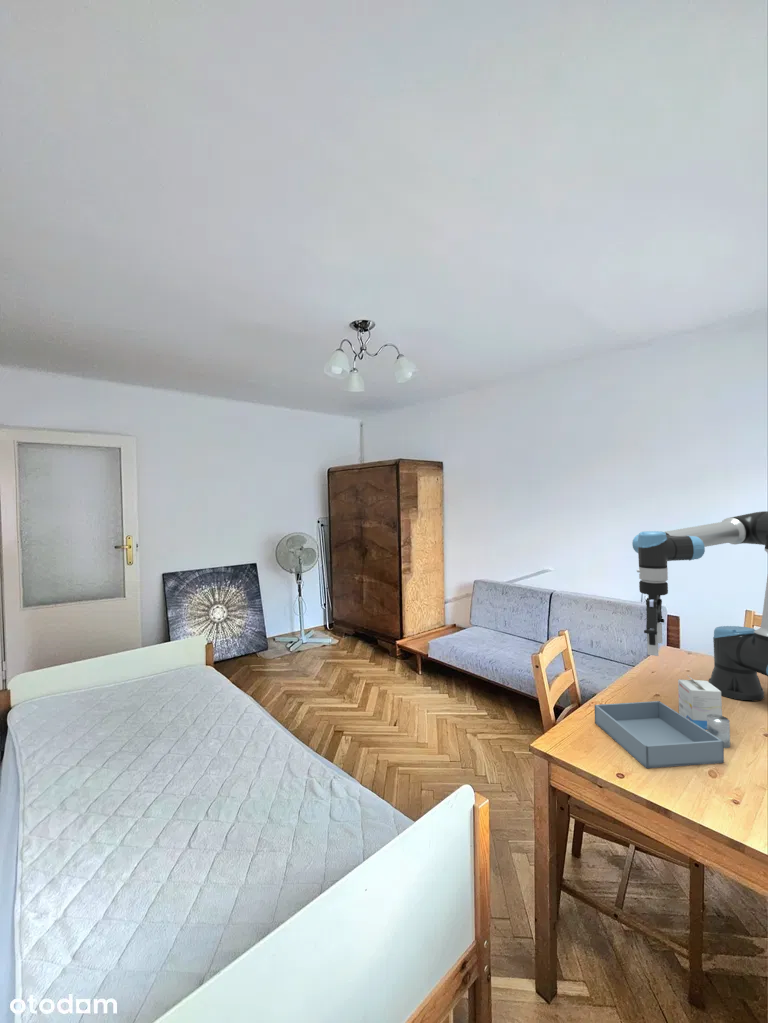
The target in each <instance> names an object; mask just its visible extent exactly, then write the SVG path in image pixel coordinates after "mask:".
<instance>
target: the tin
mask: <svg viewBox="0 0 768 1023" xmlns="http://www.w3.org/2000/svg"><path fill="white" fill-rule="evenodd" d="M730 724H731V723H730V718H727V717H725V716H723V715H722V716H721V715H716V714H708V715H707V729H706V731H708V732H709V733H711V734H713V735H714V736H716V737H717V738H719V739H721V740H722V741H724V749H729V748H730V747H731V729H730V727H731V726H730Z"/></svg>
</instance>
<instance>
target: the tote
mask: <svg viewBox="0 0 768 1023" xmlns="http://www.w3.org/2000/svg"><path fill="white" fill-rule="evenodd" d="M594 724H596V725H597V726H598V728H600V729H601V730H602V731H603V732H604V733H606V734H607V735H608V736H609V737H610V738H611V739H613V740H614V741H615V742H616V743H617V744H618V745H619V746H621V747H622V749H624V750H625V751H626V752H627V753H628V754H629V755H631V756H632V757H633V758H634V759H636V761H637V762H639V763H640V765H642V766H643V767H644V768H646V769H654V768H655V769H657V768H671V767H685V766H697V765H698V766H699V765H711V764H712V765H713V764H724V763H725V757H724V756H725V752H724V749H725V748H724V741H722V740H721V739H719V738H717V737H716V736H714V735H713V734H711V733H709V732H708V731H707V729H703V728H701V727H700V726H698V725H697V724H695V723H693V722H692V721H690V720H689V719H687V718H685V717H684V716H682V715H681V714H679V711H678V712H677V711H676V710H674V709H673V708H671V707H670V706H668V705H667V704H665V703H664V702H661V701H660V700H652V701H637V702H622V703H621V702H620V703H618V702H617V703H603V704H594Z"/></svg>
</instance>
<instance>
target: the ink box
mask: <svg viewBox="0 0 768 1023" xmlns="http://www.w3.org/2000/svg"><path fill="white" fill-rule="evenodd" d="M686 675H687V677H688V678H689V679H678V680H677V684H678V688H677V690H678V713H679V714H681V715H682V716H684V717H685V718H687V719H689V720H690V721H692V722H693V723H695V724H697V725H698V726H700V727H701V728H703V729H705V730H707V715H708V714H716V715H721V716H723V705H722V704H723V703H722V702H723V701H722V695H721V691H720V690H719V689H717V688H716V687H715V686H713V685H712V684H711V683H709V680H699V679H694V678H692V677H691V676H690V675H688V674H686Z"/></svg>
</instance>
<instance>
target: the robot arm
mask: <svg viewBox="0 0 768 1023" xmlns="http://www.w3.org/2000/svg"><path fill="white" fill-rule="evenodd" d="M631 543H632V544H631V545H632V549H633V550H634V552H635V553H637V554H638V555H637V556H638V568H637V569H636V572H637V573H639V574H638V575H639V576H638V577H639V579H640V581H639V584H638V586H639V592H640V593H641V594H643V595H647V596H648V597H647V598H646V599H645V606H646V607H645V608H646V609H645V611H646V623H645V624H646V625H645V626H646V628H645V630H643V633H644V634H646V642H647V643H646V646H647V655H649V656H654V657H658V656H659V644H663V623H665V618H663V614H662V613H663V612H662V608H663V606H662V604H663V600H662V599H661V596H666V595H668V594H669V587H668V586H669V585H668V582H667V581H668V580H669V579H668V578H669V576H668V574H669V572H668V562H671V561H673V562H674V561H692V560H693V561H694V560H699V559H700V558H702V557H703V556H704V554H705V552H706V547H707V548H708V547H712V546H717V545H718V546H719V545H723V544H730V545H740V544H749V545H750V544H751V545H759V546H760V545H761V546H762V545H763V546H764V551H765V552H766V553H767V554H768V511H766V510H764V511H757V512H755V511H754V512H751V513H745V514H741V515H737V516H732V517H726V518H724V519H723V520H722V521H719V522H713V523H707V524H702V525H697V526H696V525H695V526H690V527H684V528H678V529H677V528H676V529H672V530H667V531H659V530H644V531H640V532H639V533H638V534H637V535H635V536H634V537H633V539H632V542H631ZM764 591H765V592H764V593H765V594H764V599H763V600H764V601H763V608H762V615H761V623H760V627H759V628H757V629H755V628H752V627H747V626H739V625H737V626H736V625H724V626H723V625H722V626H717V627H715V628H714V630H713V638H712V639H713V641H712V642H713V661H714V662H713V663H714V665H713V668H712V673H711V675H710V678H709V679H708V682H709V683H711V684H712V685H713V686H715V687H716V688H717V689H719V690H720V691H721V697H726V698H729V699H732V698H734V700H737V699H741V700H740V701H743V700H752V701H751V702H754V701H753V700H760V701H762V700H761V699H763V698H765V691H764V688H763V687H762V684H761V681H760V679H759V675H758V674H761V675H764V676H766V677H768V575H767V577H766V586H765V590H764ZM757 673H758V674H757ZM763 700H764V699H763Z"/></svg>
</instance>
